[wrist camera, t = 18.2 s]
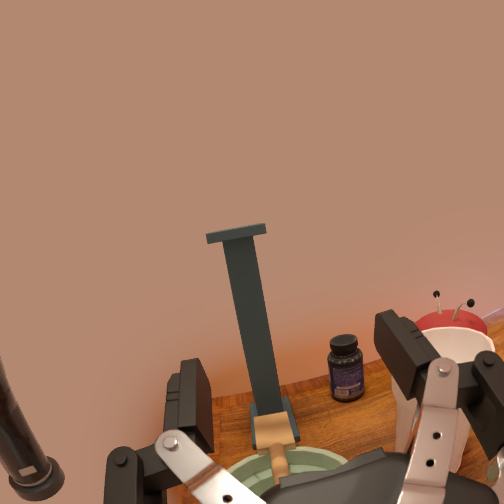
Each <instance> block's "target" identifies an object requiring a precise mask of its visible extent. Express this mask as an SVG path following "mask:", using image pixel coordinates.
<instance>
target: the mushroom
mask: <svg viewBox="0 0 504 504" xmlns="http://www.w3.org/2000/svg"><path fill="white" fill-rule="evenodd" d="M433 295H434V297H435V298H437V310H438V311H437V312H434V313H431V314H428V315H426V316H424V317H422V318H421V319H419V320H418V321H417V322H415V325H416V326H417V327H418V328H419V330H420V331H424V330H428V329H432V328H440V327H462V328H470V329H473V330H476V331H479V332H482V333H483V334H485V335H486V336H487V327H486V325H485V324H484V322H483V321H482V320H481V318H479V317H478V316H476V315H474V314H473V313H470V312H466V311H463V310H459V309H460V307H461V306H462V305H463V304H465V303H462V304H460V305H459V306H458V307H457V308H456V310H441V306H440V302H439V299H438V297H439V295H440V293H439V291H435V292H434V293H433ZM474 303H475V302H474V300H473V299H469V300H468V301H467V305H468V307H473V306H474Z"/></svg>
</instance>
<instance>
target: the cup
mask: <svg viewBox="0 0 504 504" xmlns="http://www.w3.org/2000/svg"><path fill="white" fill-rule="evenodd" d="M421 332H422V333H423V334H424V336H425V337H426V338H427V339H428V340H429V342H430V343H431V344H432V345H433V347H434V348H435V349H436V351H437V352H438V353H439V354H440V356H441V357H446V358H450V359H452V360H453V361H455V362H456V363H464V362H470V361H474V359H475V357H476V355H477V354H478V353H479V352H481V351H484V350H489V351H493V352H495V348H494V345H493V342H492V340H491V339H490V338H489V337H487V336H486V335H485V334H483V333H482V332H479V331H476V330H473V329H470V328H462V327H440V328H432V329H428V330H424V331H421ZM392 392H393V395H394V397H395V399H396V401H397V421H396V442H395V452H401V453H403V452H404V449H405V447H406V444H407V441H408V438H409V434H410V430H411V427H412V423H413V418H414V414H415V410H416V405H417V400H416V398H413V399H411V400H409V401H407V400H406V398H405V396H404V395H403V393H402V391H401V390H400V388H399V386H398V384H397V383H396V381H395V379H394V378H393V376H392ZM458 410H459V415H458V423H457V430H456V437H455V443H454V448H453V454H452V459H451V463H450V468H449V471H450V472H453V473H455V474H456V473H457V471H458V469H459V467H460V464H461V459H462V454H463V451H464V448H465V445H466V442H467V438H468V435H469V432H470V428H471V425H470V423H469V422H468V420H467V418H466V416H465V415H464V413H463V411H462V409H461V408H458Z"/></svg>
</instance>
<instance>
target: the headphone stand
mask: <svg viewBox="0 0 504 504" xmlns="http://www.w3.org/2000/svg"><path fill="white" fill-rule="evenodd" d="M265 233H266V227H265V224H264V223H260V224H253V225H248V226H242V227H237V228H231V229H226V230H220V231H215V232H211V233H208V234H206V238H207V243H208V244H210V243H215V242H221V241H222V242H223V248H224V253H225V258H226V263H227V268H228V274H229V279H230V284H231V289H232V294H233V300H234V304H235V309H236V315H237V320H238V324H239V329H240V334H241V339H242V344H243V349H244V353H245V358H246V363H247V368H248V372H249V377H250V382H251V386H252V391H253V395H254V400H255V403H250V416H251V431H252V445H253V449H257V447H256V437H255V427H254V417H258V416H264V415H269V414H275V413H280V412H285V411H287V414H288V418H289V422H290V425H291V429H292V433H293V436H294V440H295V442H299V441H300V436H299V433H298V429H297V426H296V422H295V419H294V415H293V412H292V408H291V405H290V401H289V398H288V397H283V398H281V392H280V387H279V381H278V375H277V369H276V364H275V358H274V352H273V347H272V341H271V335H270V330H269V324H268V318H267V313H266V307H265V302H264V296H263V290H262V285H261V279H260V273H259V268H258V263H257V257H256V252H255V246H254V240H253V236H254V235H259V234H265Z"/></svg>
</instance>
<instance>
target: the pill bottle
mask: <svg viewBox="0 0 504 504" xmlns="http://www.w3.org/2000/svg"><path fill="white" fill-rule="evenodd" d="M357 345H358V341H357V337H356V336H355V335H351V334H343V335H338V336H336V337H333V338H332V339H331V340H330V348H331V350H332V351H331V352H330V353H329V355H328V359H327V360H328V368H329V378H330V388H331V395H332V397H333V398H334V399H336V400H339V401H352V400H355V399H357V398H359V397H361V396H362V394H363V393H364V370H363V355H362V352H361V350H360V349H359V348H357Z"/></svg>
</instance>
